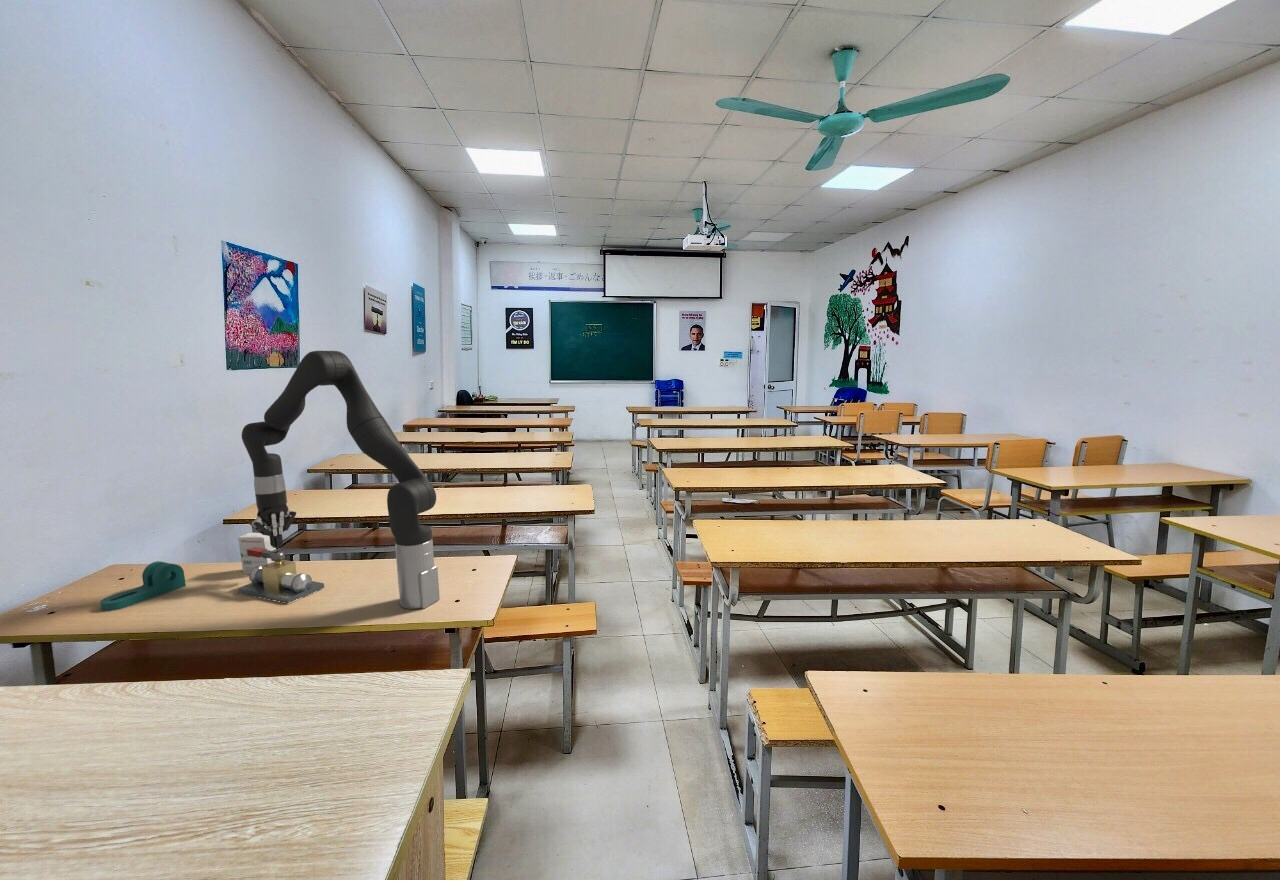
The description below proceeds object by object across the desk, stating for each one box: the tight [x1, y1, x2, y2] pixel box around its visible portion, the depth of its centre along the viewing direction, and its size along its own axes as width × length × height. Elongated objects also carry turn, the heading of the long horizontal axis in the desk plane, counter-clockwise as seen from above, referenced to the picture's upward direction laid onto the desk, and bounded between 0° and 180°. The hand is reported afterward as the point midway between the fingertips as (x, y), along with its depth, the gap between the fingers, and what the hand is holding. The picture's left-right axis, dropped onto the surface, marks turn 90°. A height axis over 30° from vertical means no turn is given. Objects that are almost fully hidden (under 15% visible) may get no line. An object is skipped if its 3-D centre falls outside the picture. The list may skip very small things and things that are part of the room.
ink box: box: [238, 532, 277, 575], centre depth 176 cm, size 9×5×12 cm, turn 84°
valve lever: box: [247, 547, 286, 561], centre depth 163 cm, size 3×13×2 cm, turn 68°
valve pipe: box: [237, 559, 325, 604], centre depth 162 cm, size 20×11×9 cm, turn 68°
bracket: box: [99, 560, 187, 612], centre depth 159 cm, size 18×7×8 cm, turn 158°
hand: (277, 546), depth 170 cm, fingers closed
